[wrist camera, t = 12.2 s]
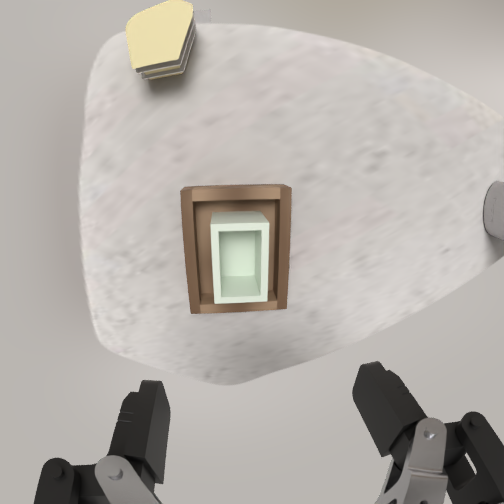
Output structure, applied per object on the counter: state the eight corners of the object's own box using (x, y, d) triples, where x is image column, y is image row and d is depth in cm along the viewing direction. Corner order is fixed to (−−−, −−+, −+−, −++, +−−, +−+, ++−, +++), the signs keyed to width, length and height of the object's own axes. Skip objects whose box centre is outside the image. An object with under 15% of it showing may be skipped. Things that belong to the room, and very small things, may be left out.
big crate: (283, 184, 27) (291, 187, 24) (280, 294, 31) (286, 308, 28) (185, 186, 26) (180, 190, 23) (193, 298, 30) (191, 313, 27)
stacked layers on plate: (216, 87, 23) (215, 70, 18) (128, 103, 22) (108, 91, 17) (210, 9, 20) (209, -17, 15) (128, 25, 19) (112, 3, 14)
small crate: (260, 210, 26) (269, 222, 22) (259, 277, 29) (267, 301, 24) (212, 212, 26) (210, 224, 21) (215, 279, 28) (214, 303, 24)
